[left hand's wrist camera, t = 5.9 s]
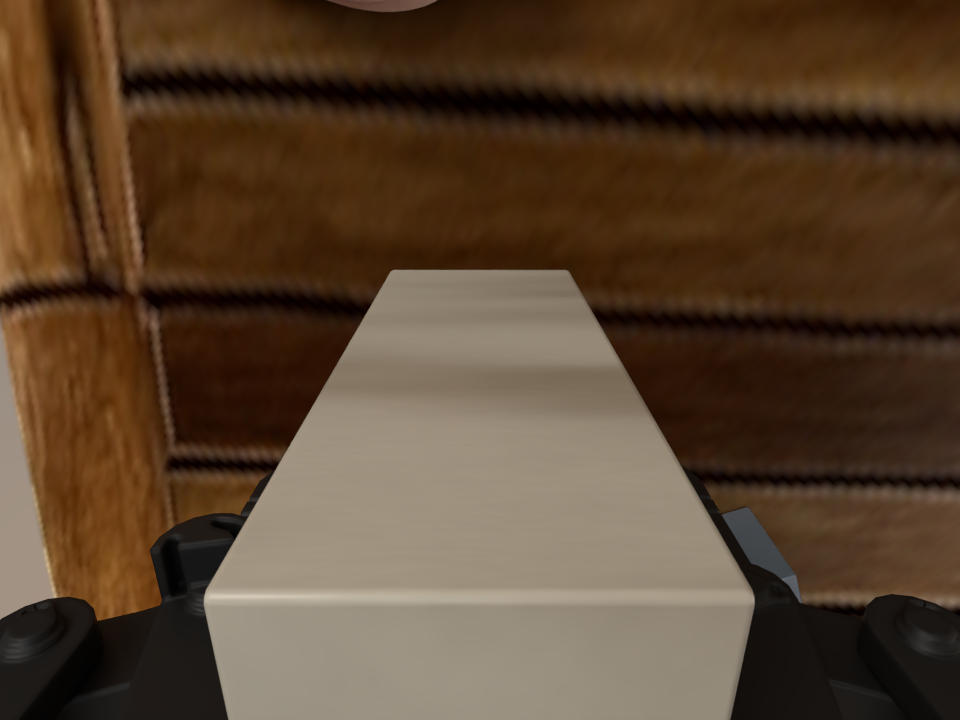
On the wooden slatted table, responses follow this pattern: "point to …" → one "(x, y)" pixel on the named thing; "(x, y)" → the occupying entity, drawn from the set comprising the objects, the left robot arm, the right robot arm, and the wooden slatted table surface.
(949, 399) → the wooden slatted table surface
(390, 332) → the ash block
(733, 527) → the slate cube
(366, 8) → the anatomical model
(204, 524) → the left robot arm
